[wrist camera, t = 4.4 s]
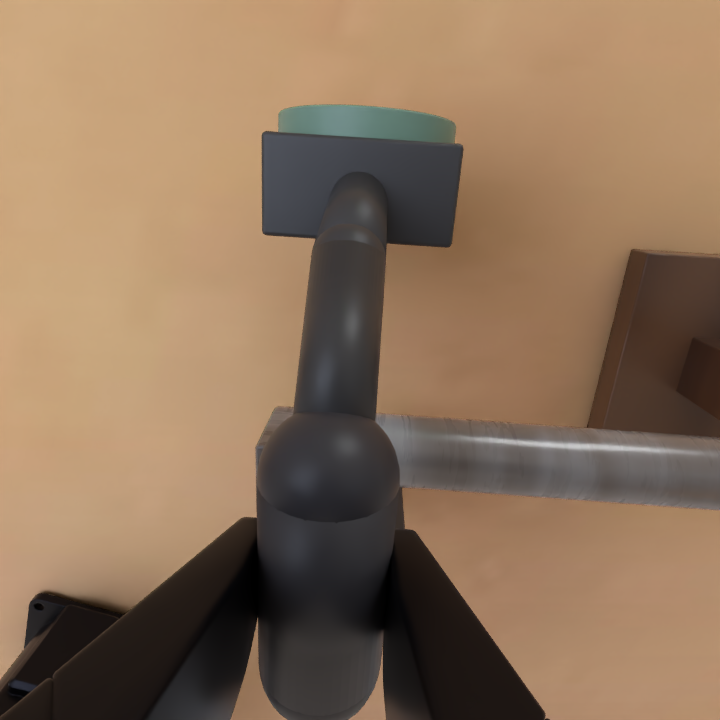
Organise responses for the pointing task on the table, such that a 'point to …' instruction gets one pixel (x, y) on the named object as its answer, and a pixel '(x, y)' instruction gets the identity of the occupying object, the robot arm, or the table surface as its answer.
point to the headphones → (339, 393)
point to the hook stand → (600, 410)
